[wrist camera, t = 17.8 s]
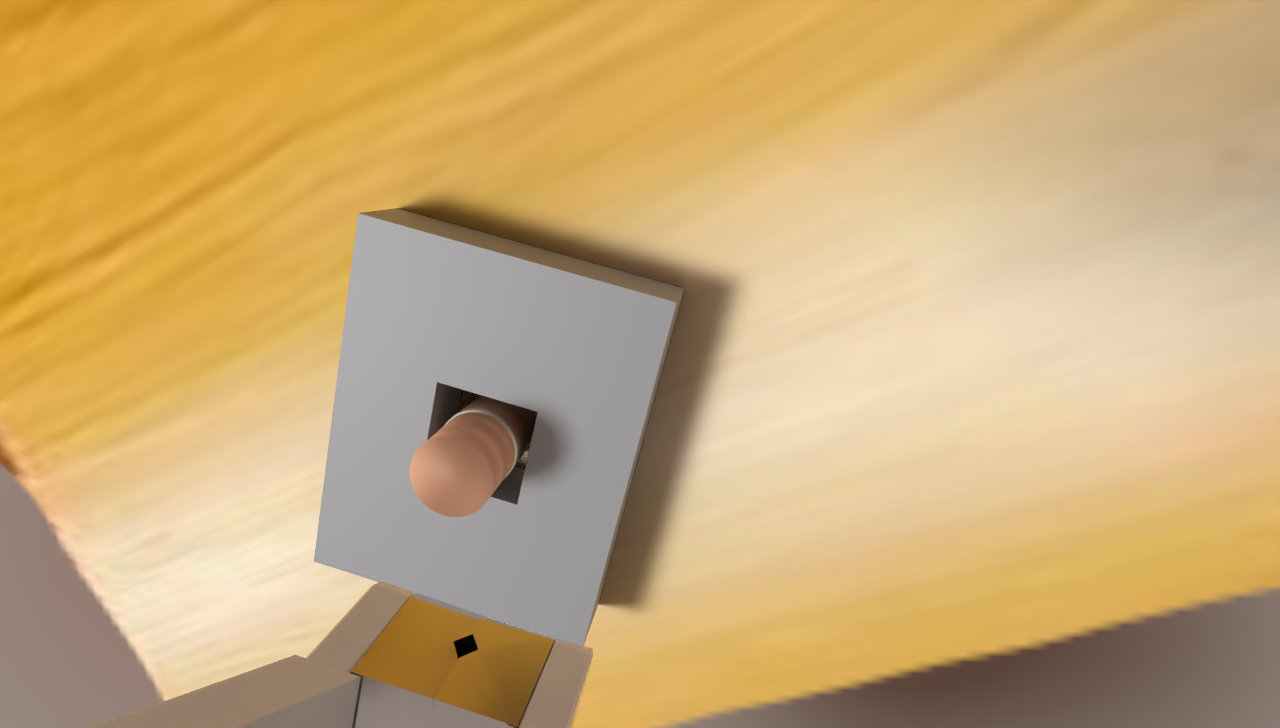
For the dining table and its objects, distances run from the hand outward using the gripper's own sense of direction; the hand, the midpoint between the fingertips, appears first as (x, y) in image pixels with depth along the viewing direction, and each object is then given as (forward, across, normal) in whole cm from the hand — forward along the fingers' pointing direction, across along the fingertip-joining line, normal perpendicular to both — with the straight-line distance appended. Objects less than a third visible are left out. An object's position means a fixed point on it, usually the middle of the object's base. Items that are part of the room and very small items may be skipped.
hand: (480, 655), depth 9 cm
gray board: (+29, +8, +10) cm, 32 cm away
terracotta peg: (+29, +8, +10) cm, 32 cm away
